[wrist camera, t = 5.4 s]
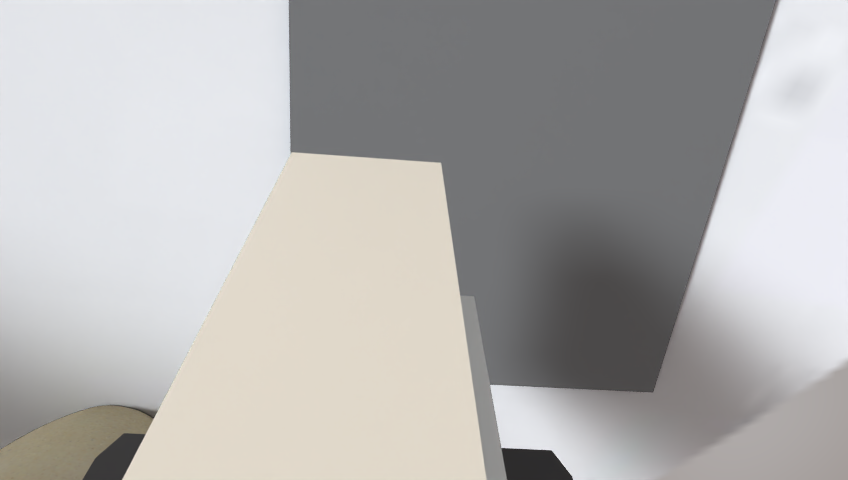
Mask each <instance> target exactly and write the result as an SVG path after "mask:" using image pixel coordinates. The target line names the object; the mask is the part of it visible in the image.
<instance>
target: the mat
mask: <svg viewBox="0 0 848 480" xmlns="http://www.w3.org/2000/svg"><path fill="white" fill-rule="evenodd" d="M775 2H776V0H289V51H290V139H291V153H292V152H296V153H310V154H324V155H338V156H352V157H366V158H380V159H394V160H408V161H422V162H437V163H441V166H442V173H443V180H444V187H445V194H446V201H447V208H448V215H449V221H450V228H451V235H452V242H453V249H454V256H455V263H456V270H457V277H458V284H459V291H460V296H474V299H475V305H476V310H477V316H478V321H479V327H480V332H481V338H482V344H483V349H484V355H485V360H486V366H487V371H488V377H489V382H490V385H510V386H531V387H552V388H573V389H594V390H615V391H636V392H653V391H654V388H655V384H656V381H657V378H658V375H659V372H660V369H661V365H662V362H663V359H664V356H665V353H666V349H667V346H668V343H669V340H670V337H671V333H672V330H673V327H674V324H675V321H676V318H677V314H678V311H679V308H680V305H681V302H682V298H683V295H684V292H685V289H686V286H687V282H688V279H689V276H690V273H691V270H692V267H693V263H694V260H695V257H696V254H697V251H698V247H699V244H700V241H701V238H702V235H703V231H704V228H705V225H706V222H707V219H708V216H709V212H710V209H711V206H712V203H713V200H714V196H715V193H716V190H717V187H718V184H719V180H720V177H721V174H722V171H723V168H724V165H725V161H726V158H727V155H728V152H729V149H730V145H731V142H732V139H733V136H734V133H735V129H736V126H737V123H738V120H739V117H740V114H741V110H742V107H743V104H744V101H745V98H746V94H747V91H748V88H749V85H750V82H751V78H752V75H753V72H754V69H755V66H756V63H757V59H758V56H759V53H760V50H761V47H762V43H763V40H764V37H765V34H766V31H767V27H768V24H769V21H770V18H771V15H772V12H773V8H774V5H775Z"/></svg>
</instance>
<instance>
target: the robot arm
mask: <svg viewBox="0 0 848 480" xmlns="http://www.w3.org/2000/svg"><path fill="white" fill-rule="evenodd" d="M460 298H461V305H462V312H463V319H464V326H465V333H466V340H467V347H468V354H469V361H470V368H471V375H472V382H473V389H474V395H475V402H476V409H477V416H478V423H479V430H480V437H481V444H482V451H483V458H484V465H485V472H486V479H487V480H573V478H572V476H571V475H570V473H569V472H568V471H567V470H566V468H565V467H564V466H563V464H562V463H561V462H560V461H559V459H558V458H557V457H556V455H555V454H554V453H553V452H552V450H530V449H508V448H501V444H500V438H499V433H498V427H497V421H496V416H495V410H494V405H493V399H492V394H491V388H490V382H489V377H488V371H487V366H486V360H485V355H484V349H483V344H482V338H481V332H480V327H479V321H478V316H477V310H476V305H475V299H474V296H460ZM145 435H146V434H131V433H124V434H122V435H121V436H120V437H119V438H118V439H117V440H116V441H114V442H113V443H112V444H111V445H110V446H109V447H107V448H106V449H105V450H104V451H103V452H102V453H100V454H99V455H98V456H97V457H96V458H95V459H94V461H93V463H92V464H91V466H90V468H89V469H88V471H87V473H86V474H85V476H84V478H83V480H122V479H123V477H124V475H125V473H126V471H127V470H128V468H129V466H130V464H131V462H132V460H133V458H134V456H135V454H136V452H137V450H138V448H139V446H140V444H141V442H142V441H143V439H144V437H145Z"/></svg>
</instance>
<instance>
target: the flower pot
mask: <svg viewBox="0 0 848 480" xmlns="http://www.w3.org/2000/svg"><path fill="white" fill-rule="evenodd" d="M152 421H153V418H152V417H150V416H148V415H147V414H145V413H143V412H140V411H138V410H135V409H131V408H127V407H122V406H112V405H108V406H97V407H92V408H89V409H85V410H82V411H79V412H76V413H73V414H70V415H67V416H64V417H62V418H59V419H57V420H55V421H52V422H50V423H48V424H46V425H43V426H41V427H39V428H37V429H35V430H33V431H31V432H30V433H28V434H26V435H24V436H22V437H20V438H19V439H17V440H15V441H14V442H12V443H10V444H9V445H7V446H5V447H4V448H2V449H1V450H0V480H83V478H84V476H85V474H86V473H87V471H88V469H89V468H90V466H91V464H92V463H93V461H94V459H95V458H96V457H97V456H98V455H99V454H100V453H102V452H103V451H104V450H105V449H106V448H107V447H109V446H110V445H111V444H112V443H113V442H114V441H116V440H117V439H118V438H119V437H120V436H121V435H122V434H124V433H131V434H146V433H147V431H148V429H149V427H150V425H151V423H152Z"/></svg>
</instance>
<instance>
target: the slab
mask: <svg viewBox="0 0 848 480" xmlns="http://www.w3.org/2000/svg"><path fill="white" fill-rule="evenodd" d="M122 480H487V479H486V472H485V465H484V458H483V451H482V444H481V437H480V430H479V423H478V416H477V409H476V402H475V395H474V389H473V382H472V375H471V368H470V361H469V354H468V347H467V340H466V333H465V326H464V319H463V312H462V305H461V298H460V291H459V284H458V277H457V270H456V263H455V256H454V249H453V242H452V235H451V228H450V221H449V215H448V208H447V201H446V194H445V187H444V180H443V173H442V166H441V163H437V162H422V161H408V160H394V159H380V158H366V157H352V156H338V155H324V154H310V153H296V152H292V153H291V155H290V157H289V158H288V160H287V162H286V164H285V166H284V168H283V170H282V172H281V174H280V176H279V178H278V180H277V182H276V184H275V186H274V187H273V189H272V191H271V193H270V195H269V197H268V199H267V201H266V203H265V205H264V207H263V209H262V211H261V213H260V215H259V216H258V218H257V220H256V222H255V224H254V226H253V228H252V230H251V232H250V234H249V236H248V238H247V240H246V242H245V243H244V245H243V247H242V249H241V251H240V253H239V255H238V257H237V259H236V261H235V263H234V265H233V267H232V269H231V271H230V272H229V274H228V276H227V278H226V280H225V282H224V284H223V286H222V288H221V290H220V292H219V294H218V296H217V298H216V300H215V301H214V303H213V305H212V307H211V309H210V311H209V313H208V315H207V317H206V319H205V321H204V323H203V325H202V327H201V328H200V330H199V332H198V334H197V336H196V338H195V340H194V342H193V344H192V346H191V348H190V350H189V352H188V354H187V356H186V357H185V359H184V361H183V363H182V365H181V367H180V369H179V371H178V373H177V375H176V377H175V379H174V381H173V383H172V385H171V386H170V388H169V390H168V392H167V394H166V396H165V398H164V400H163V402H162V404H161V406H160V408H159V410H158V412H157V414H156V415H155V417H154V419H153V421H152V423H151V425H150V427H149V429H148V431H147V433H146V435H145V437H144V439H143V441H142V442H141V444H140V446H139V448H138V450H137V452H136V454H135V456H134V458H133V460H132V462H131V464H130V466H129V468H128V470H127V471H126V473H125V475H124V477H123V479H122Z"/></svg>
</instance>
